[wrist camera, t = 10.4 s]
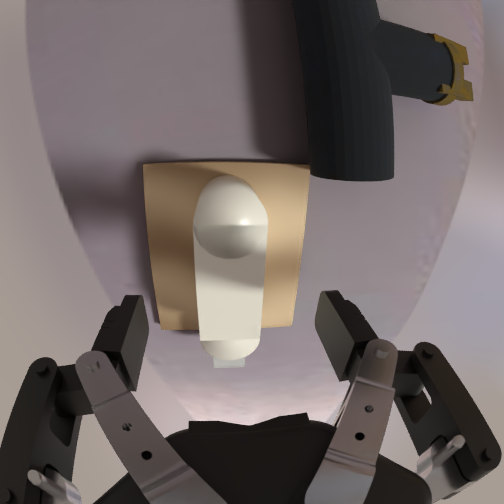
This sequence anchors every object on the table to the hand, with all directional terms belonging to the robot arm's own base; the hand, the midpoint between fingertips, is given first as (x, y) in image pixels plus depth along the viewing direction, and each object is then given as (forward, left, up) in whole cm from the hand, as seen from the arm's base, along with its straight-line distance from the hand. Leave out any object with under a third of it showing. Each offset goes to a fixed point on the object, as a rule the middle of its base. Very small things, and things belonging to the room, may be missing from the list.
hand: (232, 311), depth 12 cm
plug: (+2, 0, -6) cm, 6 cm away
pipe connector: (-13, +9, -7) cm, 18 cm away
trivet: (0, 0, -7) cm, 7 cm away
